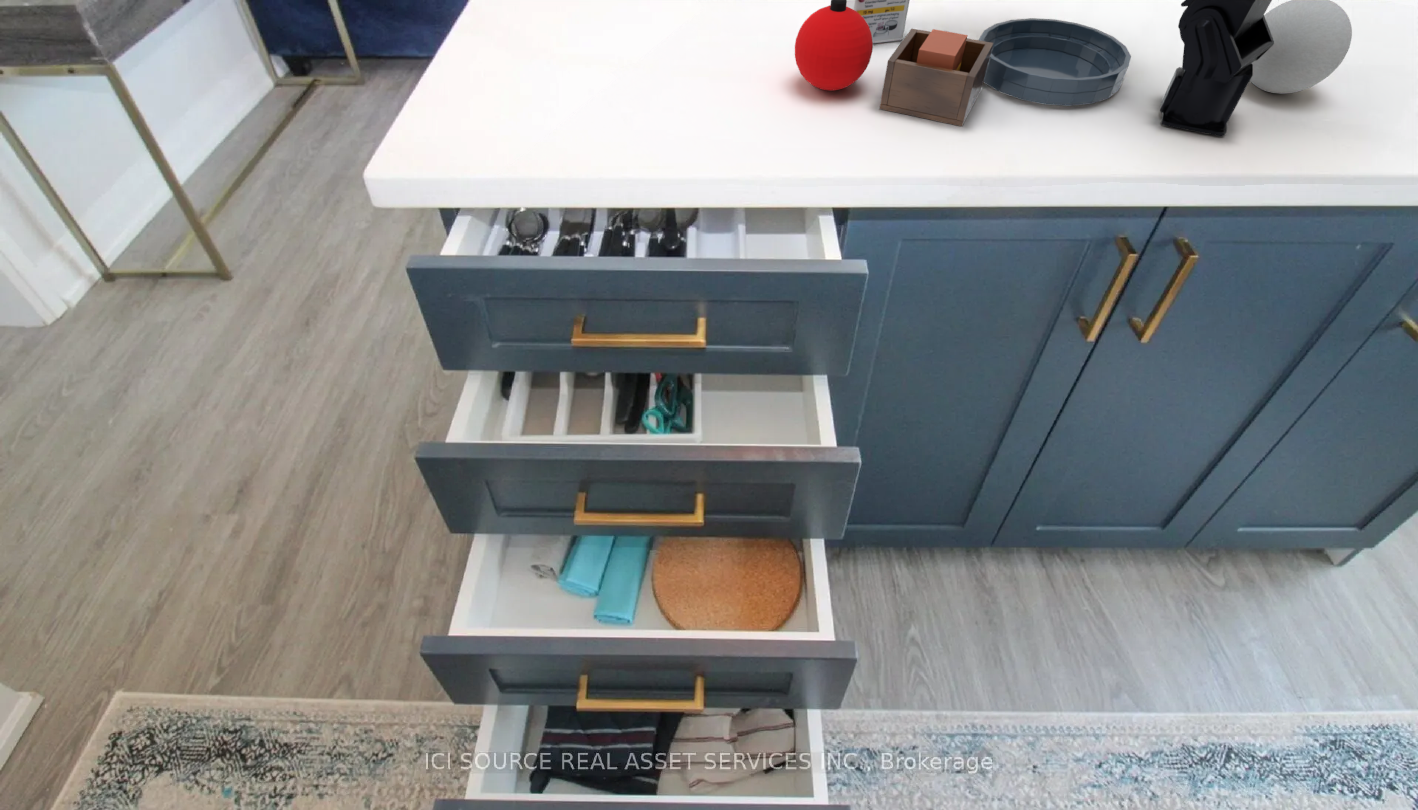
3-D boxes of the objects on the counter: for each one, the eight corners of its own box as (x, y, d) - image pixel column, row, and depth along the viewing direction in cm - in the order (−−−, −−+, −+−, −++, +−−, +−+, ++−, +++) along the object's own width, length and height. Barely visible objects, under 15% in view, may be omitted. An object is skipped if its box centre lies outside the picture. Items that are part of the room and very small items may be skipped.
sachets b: (961, 61, 87) (967, 35, 85) (948, 83, 84) (955, 56, 81) (927, 55, 88) (932, 28, 86) (913, 76, 85) (919, 49, 82)
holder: (980, 90, 90) (993, 42, 86) (962, 126, 84) (975, 77, 80) (902, 75, 93) (911, 28, 89) (879, 109, 87) (887, 60, 83)
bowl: (1125, 61, 95) (1137, 33, 93) (1109, 122, 85) (1122, 91, 82) (988, 37, 100) (995, 9, 98) (958, 91, 90) (965, 62, 87)
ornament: (882, 90, 90) (897, 1, 83) (825, 111, 87) (836, 21, 79) (831, 63, 95) (842, -23, 88) (776, 83, 92) (782, -5, 84)
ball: (1241, 63, 95) (1287, -24, 87) (1329, 88, 90) (1384, -1, 83) (1211, 89, 90) (1257, 0, 82) (1302, 118, 85) (1359, 26, 78)
